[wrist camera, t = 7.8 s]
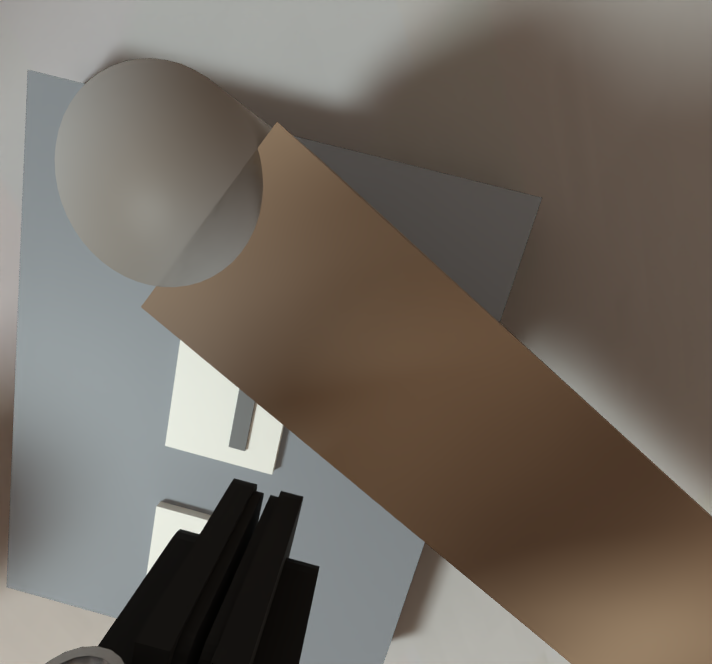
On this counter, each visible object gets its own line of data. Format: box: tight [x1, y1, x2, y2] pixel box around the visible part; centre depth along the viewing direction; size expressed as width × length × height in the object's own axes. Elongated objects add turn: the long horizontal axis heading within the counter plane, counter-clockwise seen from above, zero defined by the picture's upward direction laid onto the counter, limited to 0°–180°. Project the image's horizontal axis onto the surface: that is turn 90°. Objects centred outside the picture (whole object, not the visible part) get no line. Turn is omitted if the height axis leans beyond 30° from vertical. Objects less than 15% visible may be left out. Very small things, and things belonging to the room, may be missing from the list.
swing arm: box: [55, 58, 712, 664], centre depth 10 cm, size 20×4×4 cm, turn 49°
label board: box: [7, 70, 542, 664], centre depth 15 cm, size 20×16×4 cm
